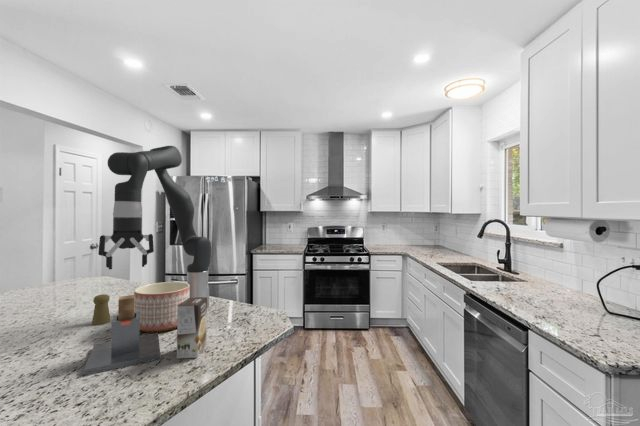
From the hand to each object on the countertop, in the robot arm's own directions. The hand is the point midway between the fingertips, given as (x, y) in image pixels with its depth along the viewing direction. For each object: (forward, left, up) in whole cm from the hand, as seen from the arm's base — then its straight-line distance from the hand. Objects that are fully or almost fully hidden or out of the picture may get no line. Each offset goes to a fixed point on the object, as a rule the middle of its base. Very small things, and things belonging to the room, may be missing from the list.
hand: (127, 267), depth 90 cm
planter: (-11, -21, -27) cm, 36 cm away
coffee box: (-18, +9, -27) cm, 34 cm away
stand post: (0, 0, -25) cm, 25 cm away
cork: (+10, -36, -27) cm, 46 cm away
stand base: (0, 0, -27) cm, 27 cm away
